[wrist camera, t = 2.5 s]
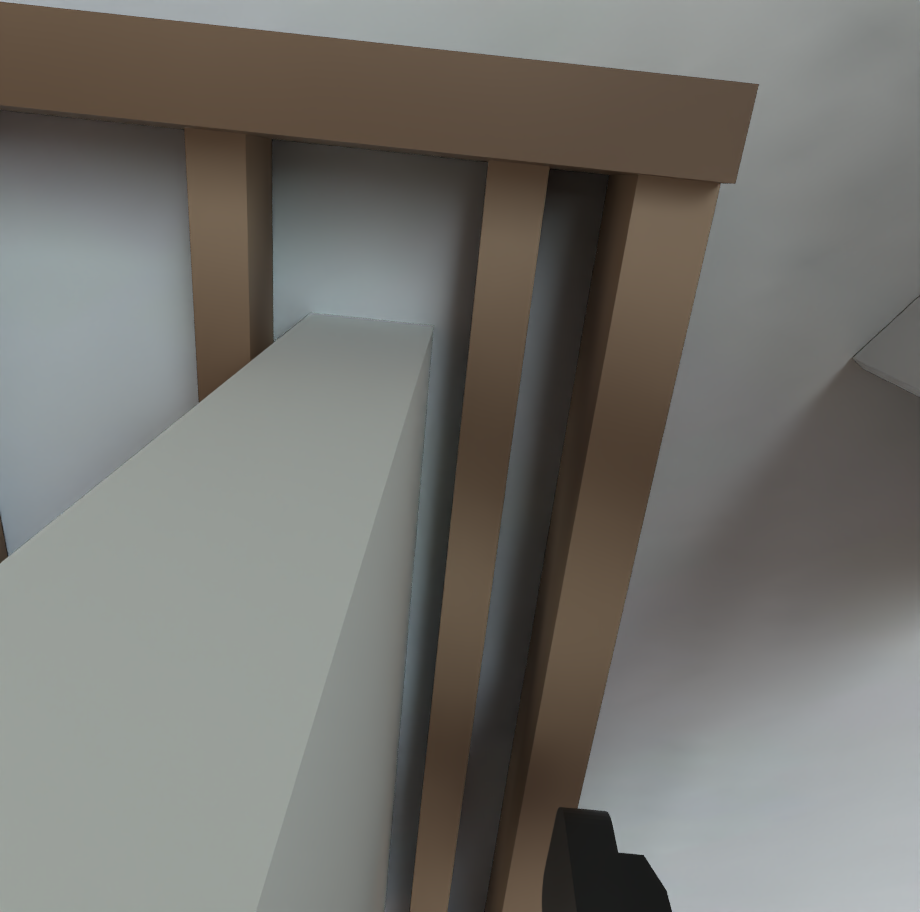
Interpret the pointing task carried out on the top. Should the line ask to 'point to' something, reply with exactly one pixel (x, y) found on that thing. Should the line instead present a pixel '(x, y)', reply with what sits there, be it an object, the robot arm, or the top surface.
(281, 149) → the top surface
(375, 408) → the sheet
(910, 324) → the grey tall rectangular block
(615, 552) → the rack
